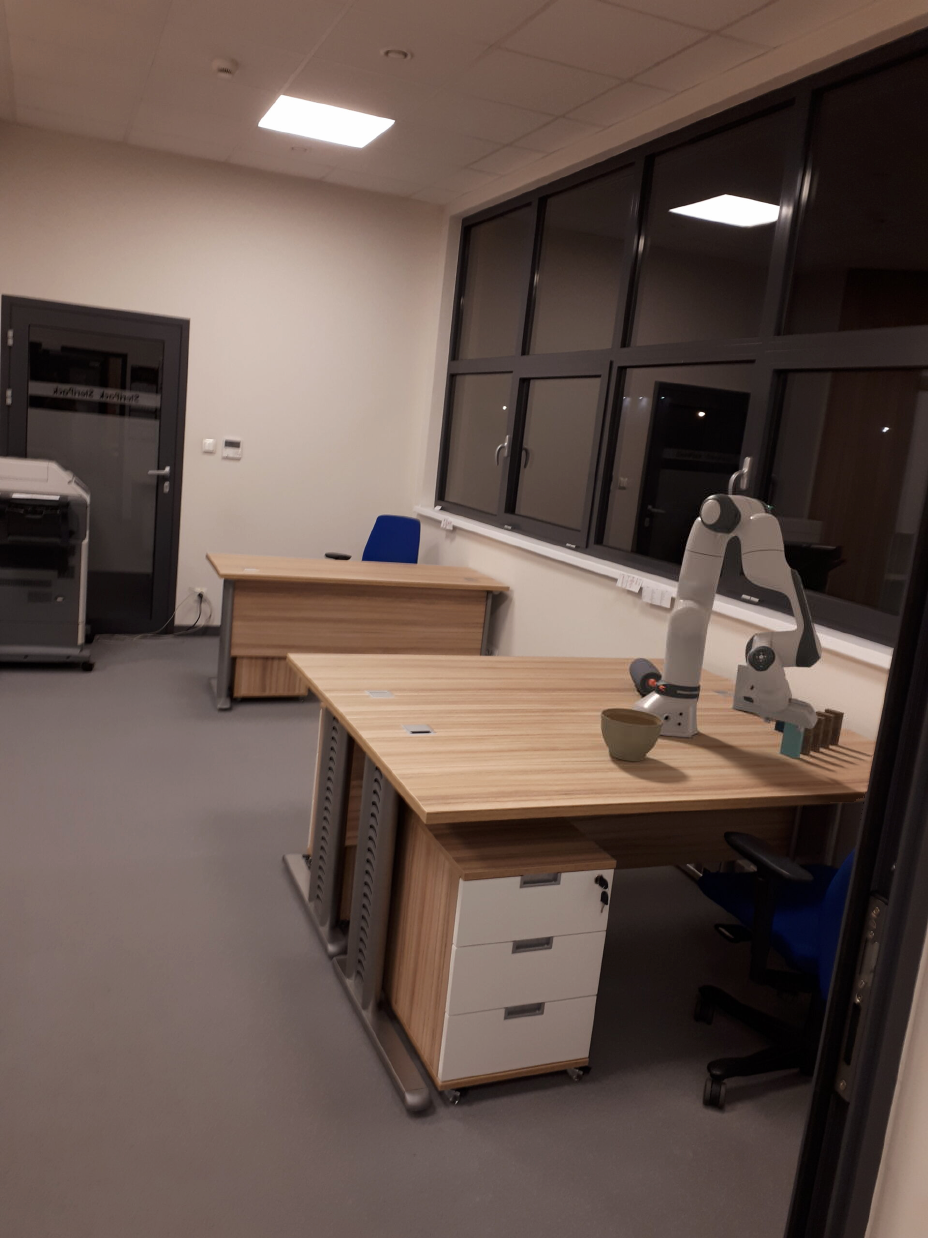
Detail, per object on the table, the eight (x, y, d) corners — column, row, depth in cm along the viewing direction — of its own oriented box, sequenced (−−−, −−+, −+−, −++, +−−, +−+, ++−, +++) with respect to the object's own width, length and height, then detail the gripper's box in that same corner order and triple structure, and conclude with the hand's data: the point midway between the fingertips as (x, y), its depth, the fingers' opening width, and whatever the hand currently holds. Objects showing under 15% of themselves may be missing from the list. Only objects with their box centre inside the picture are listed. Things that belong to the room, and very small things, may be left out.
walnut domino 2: (816, 752, 274) (822, 718, 272) (800, 747, 277) (805, 714, 276) (819, 751, 275) (825, 717, 274) (803, 746, 279) (808, 713, 277)
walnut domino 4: (835, 745, 283) (841, 713, 281) (819, 741, 287) (825, 709, 285) (838, 744, 285) (844, 712, 283) (822, 740, 288) (827, 708, 286)
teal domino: (796, 758, 265) (802, 724, 263) (779, 753, 268) (785, 719, 266) (799, 757, 266) (805, 723, 264) (782, 752, 269) (788, 718, 268)
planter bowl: (615, 742, 260) (620, 704, 258) (668, 759, 250) (674, 719, 248) (583, 752, 247) (589, 712, 246) (638, 770, 238) (644, 729, 236)
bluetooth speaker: (663, 701, 316) (668, 672, 314) (635, 698, 316) (640, 668, 314) (651, 685, 338) (655, 658, 337) (625, 682, 338) (629, 655, 337)
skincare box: (759, 710, 318) (766, 665, 316) (756, 714, 312) (764, 668, 310) (733, 705, 322) (741, 660, 319) (730, 708, 316) (738, 663, 313)
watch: (802, 733, 293) (808, 699, 291) (785, 735, 289) (791, 700, 287) (787, 728, 298) (793, 694, 296) (770, 730, 293) (776, 695, 291)
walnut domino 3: (826, 748, 278) (832, 716, 277) (809, 744, 282) (815, 711, 280) (829, 747, 280) (834, 715, 278) (812, 743, 283) (818, 710, 282)
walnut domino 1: (806, 755, 269) (812, 721, 268) (790, 750, 273) (795, 716, 271) (809, 754, 271) (815, 720, 269) (793, 749, 274) (799, 715, 272)
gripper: (816, 695, 246) (825, 727, 255) (744, 676, 260) (755, 707, 269) (806, 714, 244) (815, 745, 252) (734, 694, 257) (745, 724, 266)
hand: (784, 725), depth 261 cm, fingers open, 8 cm apart
